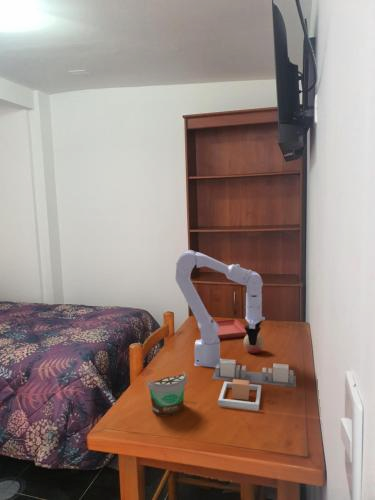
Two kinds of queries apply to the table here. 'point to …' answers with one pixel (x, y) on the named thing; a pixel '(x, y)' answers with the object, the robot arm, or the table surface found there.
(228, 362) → the block
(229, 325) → the plant saucer
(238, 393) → the block
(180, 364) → the table surface
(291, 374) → the rail
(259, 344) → the fruit
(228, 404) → the tray
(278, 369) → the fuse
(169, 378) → the food container
